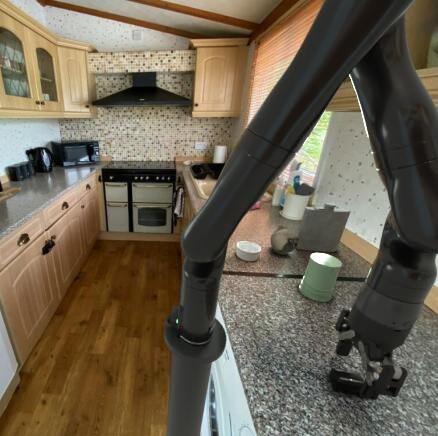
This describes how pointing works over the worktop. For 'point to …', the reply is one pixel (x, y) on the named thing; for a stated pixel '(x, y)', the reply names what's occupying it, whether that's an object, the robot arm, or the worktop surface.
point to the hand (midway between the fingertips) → (352, 374)
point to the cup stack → (320, 277)
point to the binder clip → (345, 381)
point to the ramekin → (248, 250)
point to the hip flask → (322, 228)
